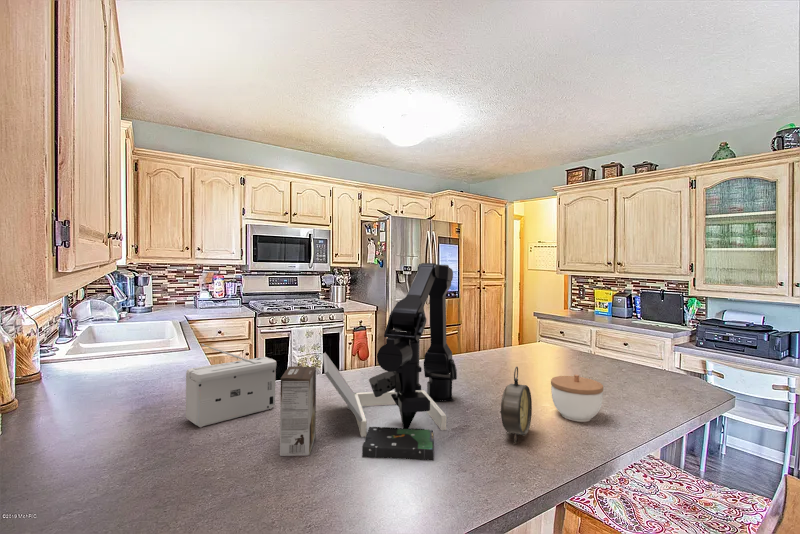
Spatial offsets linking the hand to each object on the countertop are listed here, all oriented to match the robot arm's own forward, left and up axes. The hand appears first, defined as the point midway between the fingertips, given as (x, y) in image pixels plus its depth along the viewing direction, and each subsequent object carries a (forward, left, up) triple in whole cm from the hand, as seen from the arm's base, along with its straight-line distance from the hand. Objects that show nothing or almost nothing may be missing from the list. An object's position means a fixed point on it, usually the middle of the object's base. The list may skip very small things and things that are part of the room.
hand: (405, 428), depth 90 cm
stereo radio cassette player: (+41, -20, -2) cm, 46 cm away
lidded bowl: (-47, -3, -2) cm, 47 cm away
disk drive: (+3, +5, -2) cm, 6 cm away
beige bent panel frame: (+4, -11, -2) cm, 12 cm away
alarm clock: (-25, +5, -2) cm, 26 cm away
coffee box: (+24, +1, -2) cm, 24 cm away
